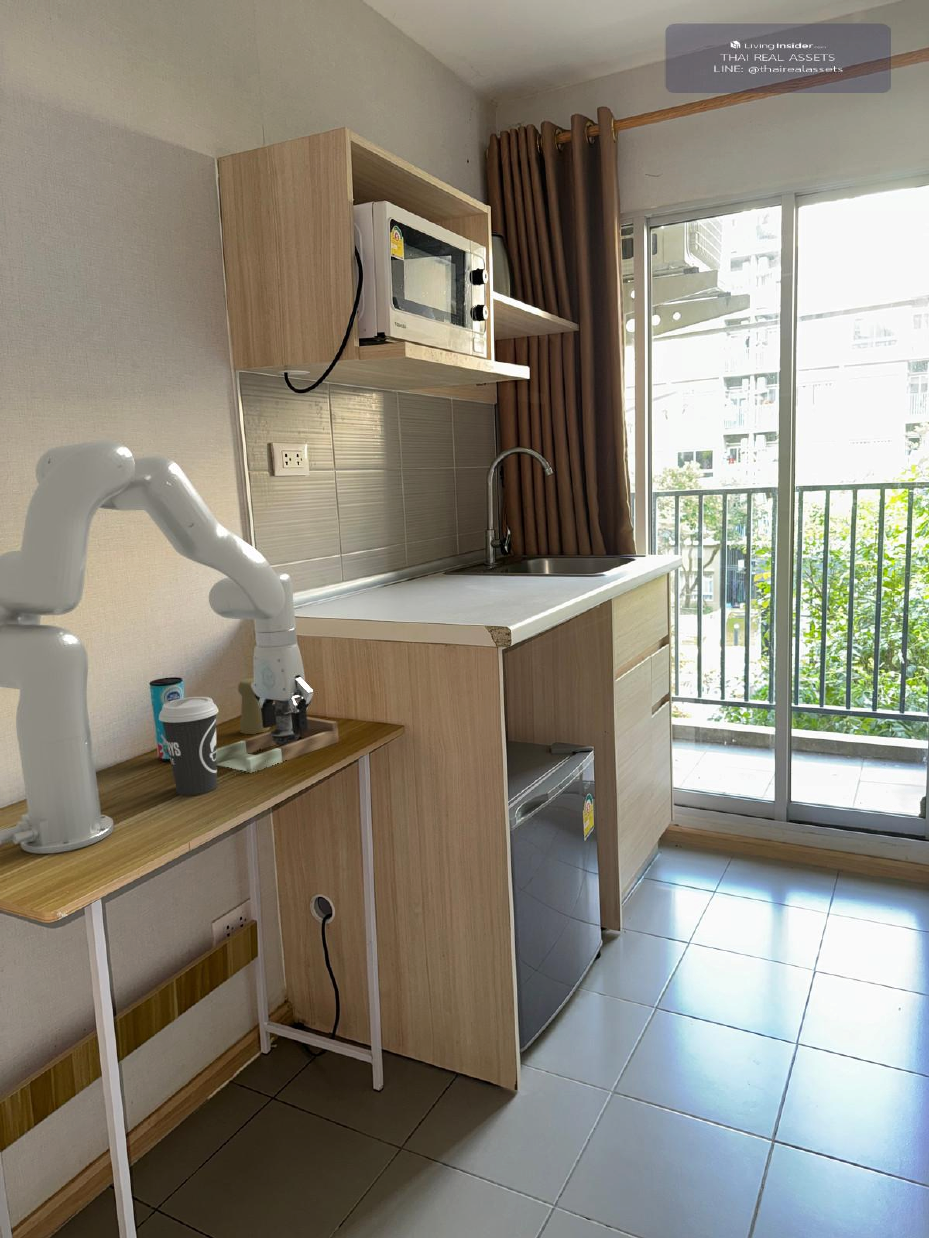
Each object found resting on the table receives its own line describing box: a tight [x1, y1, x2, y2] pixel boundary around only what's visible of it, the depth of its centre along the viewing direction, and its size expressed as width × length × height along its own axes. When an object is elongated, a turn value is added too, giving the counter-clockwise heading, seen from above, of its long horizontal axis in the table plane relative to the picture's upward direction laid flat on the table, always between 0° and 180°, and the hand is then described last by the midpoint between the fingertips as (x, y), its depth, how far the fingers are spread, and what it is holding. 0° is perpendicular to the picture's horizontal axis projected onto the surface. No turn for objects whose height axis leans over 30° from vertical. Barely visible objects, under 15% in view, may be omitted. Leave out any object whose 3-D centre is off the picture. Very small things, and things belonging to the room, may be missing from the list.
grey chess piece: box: [269, 700, 300, 749], centre depth 167 cm, size 6×6×12 cm
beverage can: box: [149, 676, 185, 762], centre depth 166 cm, size 6×6×15 cm
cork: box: [237, 677, 271, 735], centre depth 182 cm, size 6×6×11 cm
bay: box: [216, 716, 340, 774], centre depth 166 cm, size 21×11×4 cm, turn 142°
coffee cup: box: [159, 696, 220, 797], centre depth 146 cm, size 10×10×15 cm
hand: (285, 728), depth 167 cm, fingers open, 8 cm apart
